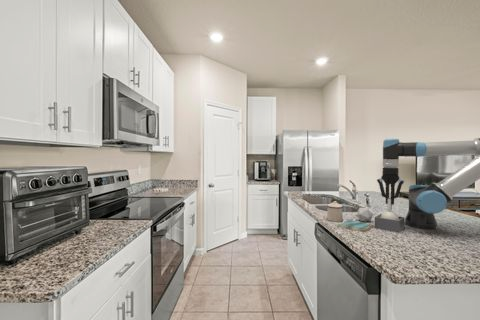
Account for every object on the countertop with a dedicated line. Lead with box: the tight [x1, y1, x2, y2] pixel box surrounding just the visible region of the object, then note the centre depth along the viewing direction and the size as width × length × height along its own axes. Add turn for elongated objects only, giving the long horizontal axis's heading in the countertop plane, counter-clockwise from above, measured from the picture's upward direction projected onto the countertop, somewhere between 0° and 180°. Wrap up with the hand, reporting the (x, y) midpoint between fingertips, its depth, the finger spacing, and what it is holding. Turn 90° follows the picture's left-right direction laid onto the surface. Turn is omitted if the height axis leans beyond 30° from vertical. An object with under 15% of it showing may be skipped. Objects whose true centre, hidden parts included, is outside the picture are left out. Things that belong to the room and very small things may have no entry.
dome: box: [380, 210, 400, 221], centre depth 139 cm, size 9×9×9 cm
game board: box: [337, 219, 374, 233], centre depth 141 cm, size 14×14×1 cm
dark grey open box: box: [374, 213, 406, 234], centre depth 139 cm, size 12×12×6 cm
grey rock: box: [355, 207, 374, 223], centre depth 154 cm, size 8×9×10 cm
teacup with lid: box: [326, 200, 344, 223], centre depth 157 cm, size 12×9×12 cm
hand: (389, 210), depth 139 cm, fingers closed
